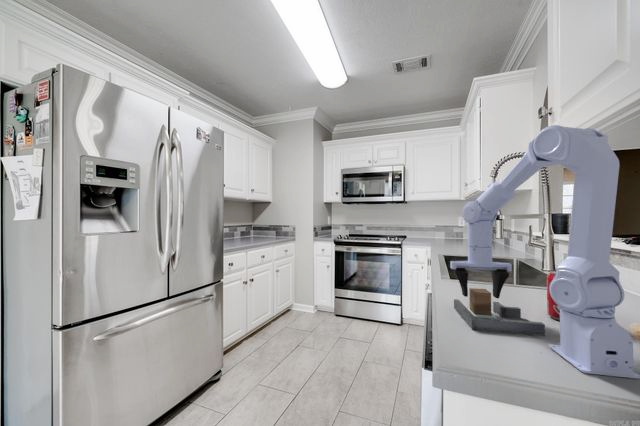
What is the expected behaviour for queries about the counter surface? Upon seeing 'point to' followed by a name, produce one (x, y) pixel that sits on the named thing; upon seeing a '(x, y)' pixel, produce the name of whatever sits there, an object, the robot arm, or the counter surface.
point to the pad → (483, 315)
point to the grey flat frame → (500, 320)
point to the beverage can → (551, 305)
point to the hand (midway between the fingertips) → (480, 296)
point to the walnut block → (480, 301)
